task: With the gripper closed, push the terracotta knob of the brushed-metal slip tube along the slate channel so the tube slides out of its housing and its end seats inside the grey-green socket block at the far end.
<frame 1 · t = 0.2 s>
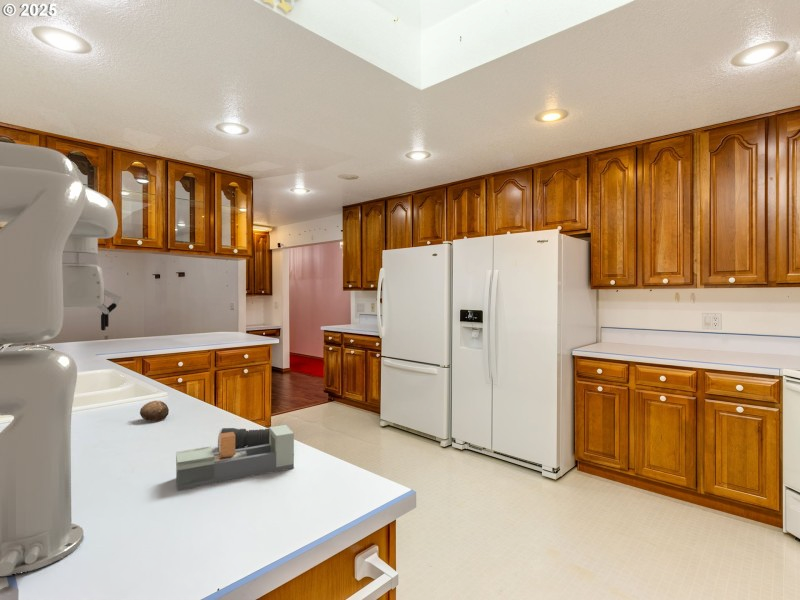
hand: (79, 330, 107), 31 cm above the counter, fingers open, 9 cm apart
flashlight: (249, 449, 114), on the counter
tube: (212, 453, 95), point 5 cm above the counter, slide at 0.0 cm
brown rounded lump: (154, 420, 137), on the counter
sleeve: (236, 472, 98), on the counter
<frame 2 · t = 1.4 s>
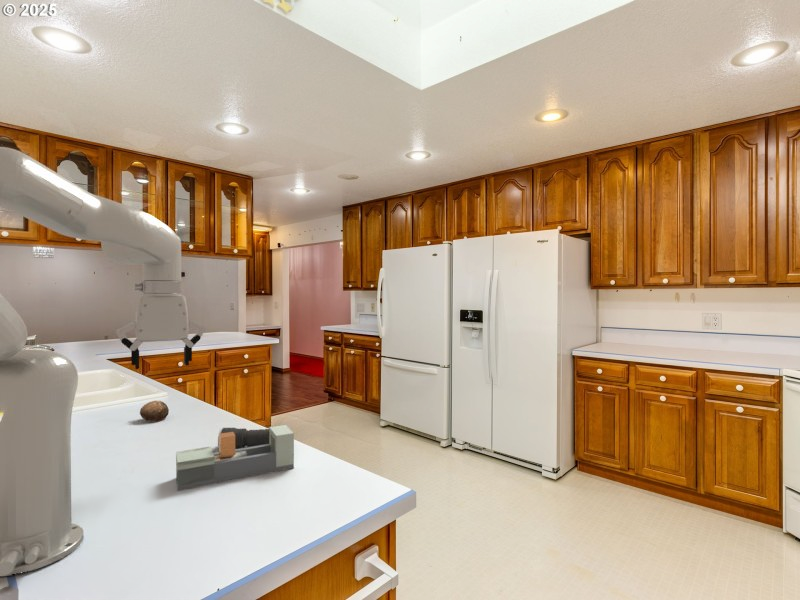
hand: (162, 366, 96), 24 cm above the counter, fingers open, 9 cm apart
nothing on the counter moved.
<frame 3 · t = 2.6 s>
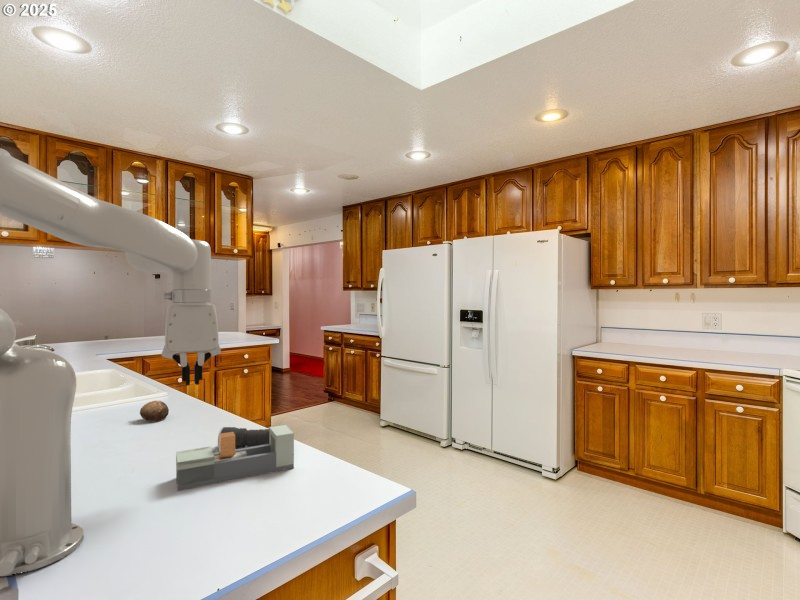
hand: (192, 383, 93), 21 cm above the counter, fingers closed
nothing on the counter moved.
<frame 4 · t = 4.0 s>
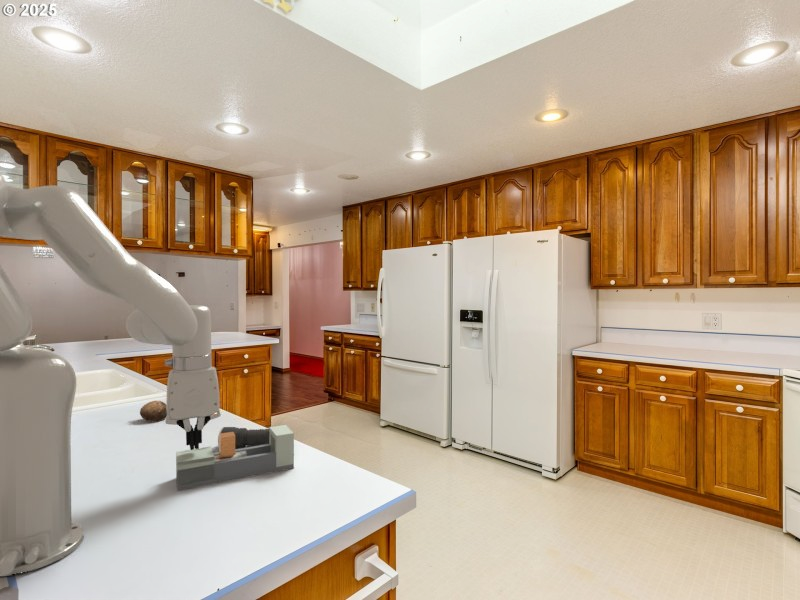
hand: (194, 447, 94), 7 cm above the counter, fingers closed
nothing on the counter moved.
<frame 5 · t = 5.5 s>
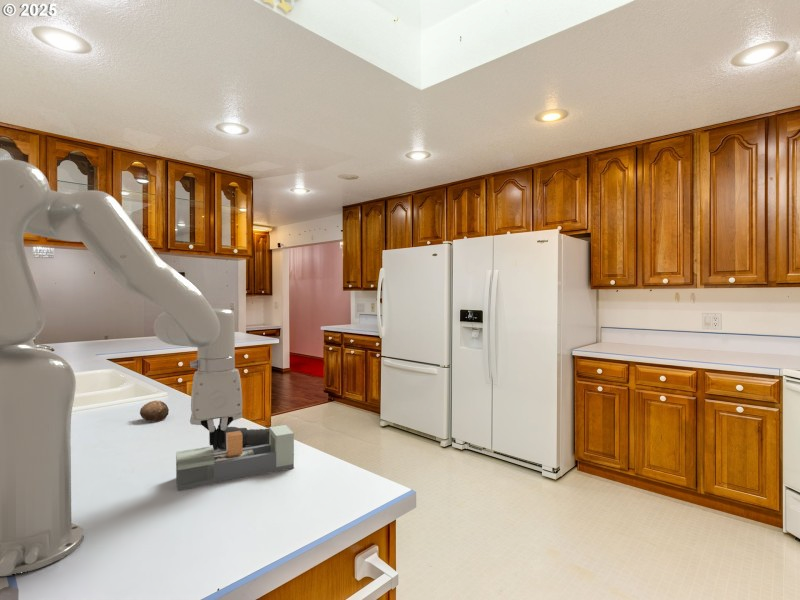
hand: (217, 447, 96), 6 cm above the counter, fingers closed
tube: (219, 452, 96), point 5 cm above the counter, slide at 1.5 cm, touching gripper
everything else where it was.
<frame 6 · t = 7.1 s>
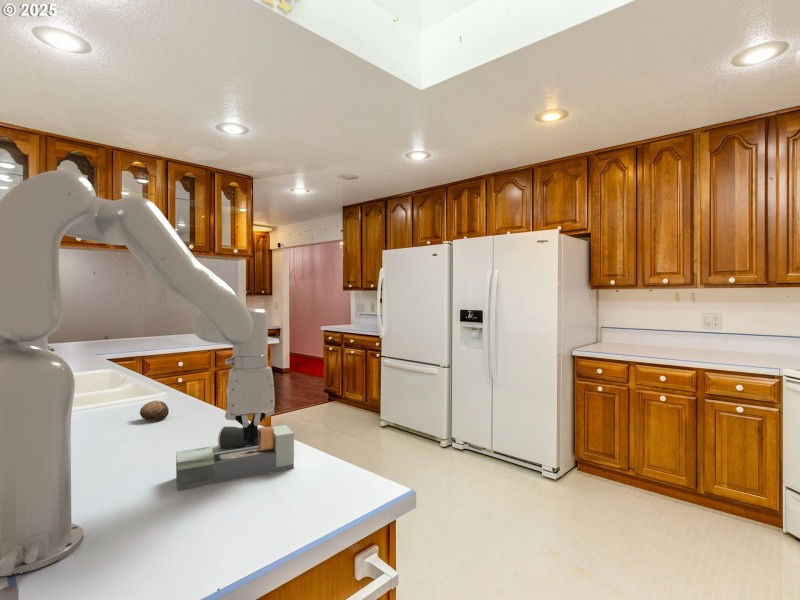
hand: (250, 442, 99), 6 cm above the counter, fingers closed
tube: (252, 447, 99), point 5 cm above the counter, slide at 8.5 cm, touching gripper, sleeve
everything else where it was.
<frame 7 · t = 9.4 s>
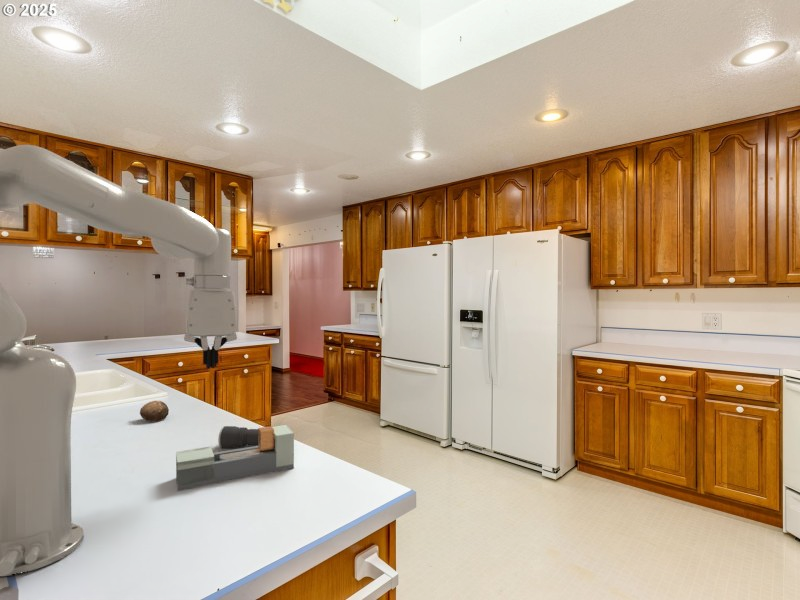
hand: (210, 367, 96), 24 cm above the counter, fingers closed
tube: (252, 447, 99), point 5 cm above the counter, slide at 8.5 cm
everything else where it was.
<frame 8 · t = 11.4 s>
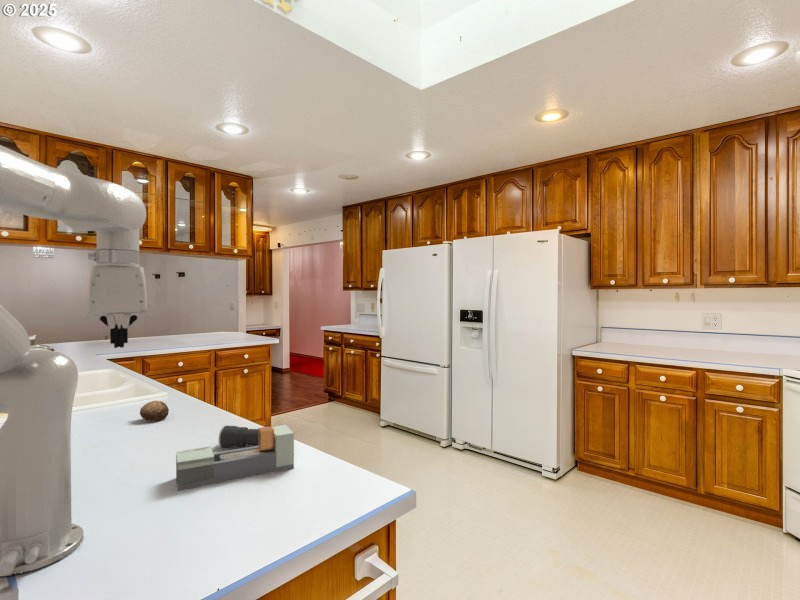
hand: (119, 346, 92), 29 cm above the counter, fingers closed
at the end: tube slide at 8.5 cm; tube touching nothing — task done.
